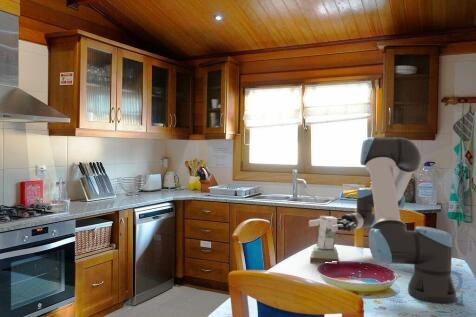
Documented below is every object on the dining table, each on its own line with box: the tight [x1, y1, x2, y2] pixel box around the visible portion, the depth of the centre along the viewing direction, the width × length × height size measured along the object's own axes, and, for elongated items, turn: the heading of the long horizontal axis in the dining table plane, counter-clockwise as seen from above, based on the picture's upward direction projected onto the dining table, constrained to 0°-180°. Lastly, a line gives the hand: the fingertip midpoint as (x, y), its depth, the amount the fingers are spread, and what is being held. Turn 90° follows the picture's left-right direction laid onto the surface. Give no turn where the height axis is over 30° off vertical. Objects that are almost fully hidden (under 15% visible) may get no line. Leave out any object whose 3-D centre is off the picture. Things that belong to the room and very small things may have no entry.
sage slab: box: [312, 245, 338, 259], centre depth 182 cm, size 10×10×3 cm
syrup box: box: [316, 215, 338, 250], centre depth 182 cm, size 6×6×14 cm
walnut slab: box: [309, 250, 339, 264], centre depth 183 cm, size 12×12×3 cm
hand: (320, 226), depth 180 cm, fingers open, 13 cm apart
